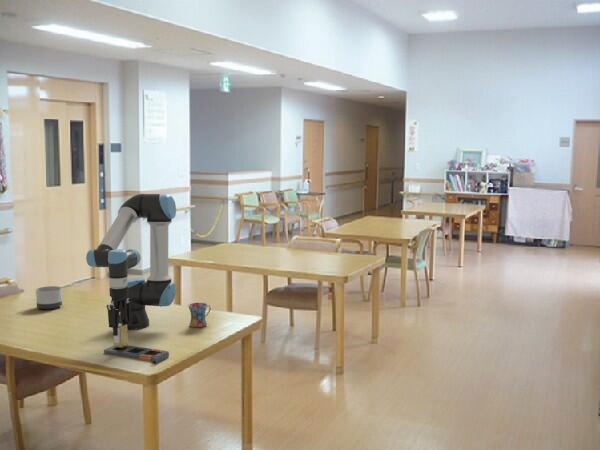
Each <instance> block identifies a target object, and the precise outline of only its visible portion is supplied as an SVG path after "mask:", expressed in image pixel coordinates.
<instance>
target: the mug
mask: <svg viewBox="0 0 600 450" xmlns="http://www.w3.org/2000/svg"><path fill="white" fill-rule="evenodd" d="M187 307H188V309H189V311H190V322H189V324H188V325H189V326H190V327H192V328H202V327H206V326H207V324H208V323H207V321H206V317H207V316H208V315H209V313H210V312H211V310H212V307H211V306H210V305H208V303H206V302H192V303H189V304H187ZM207 307H208V308H209V309H208V312H207V313H206V310H207Z"/></svg>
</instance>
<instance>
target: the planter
mask: <svg viewBox="0 0 600 450" xmlns="http://www.w3.org/2000/svg"><path fill="white" fill-rule="evenodd" d="M62 295H63V294H62V287H61V286H56V285H55V286H54V285H53V286H51V285H50V286H41V287H38V288H36V289H35V297H36V298H35V300H36V301H35V302H36V307H37V308H38V309H41V310H45V309H49V310H54V309H53V308H55V309H57V307H58V308H59V307H61V306H62V305H63V297H62Z"/></svg>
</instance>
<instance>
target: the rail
mask: <svg viewBox="0 0 600 450" xmlns="http://www.w3.org/2000/svg"><path fill="white" fill-rule="evenodd" d="M103 354H105V355H112V356H116V357H117V356H119V357H124V358H129V359H130V358H131V359H136V360H139V361H140V360H141V361H147V362H151V364H153V365H157V364H159V363H160V362H163V361H165V360H166V359H168V358H169V357H170V356H169V354H170V353H169V350H168V351H167V350H164V349H163V350H162V349H157V348H147V347H141V346H135V345H129V344H128V345H126V346H124V347H122V348H120V347H114V345H112V346H110V347H107V348H105V349H103Z"/></svg>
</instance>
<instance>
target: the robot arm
mask: <svg viewBox="0 0 600 450" xmlns="http://www.w3.org/2000/svg"><path fill="white" fill-rule="evenodd" d="M176 215H177V206H176V201H175V199H174V198H173V196H172V195H170V194H166V193H137V194H135V195H133V196H131V197H130V198H128V199H127V200H126V201H124V203H122V205H121V206H120V208H119V209H118V210H117V216H116V218H115V219H114V221H113V223H112V224H111V225H110V227H109V229H108V231H107V232H106V234H105V235H104V237H103V238H102V240H101V242H100V243H99V245H98V246H97V247H96V248H95V249H94V248H93V249H90V250H88V251H87V253H86V256H85V260H86V261H85V262H86V263H87V265H88V266H89V267H94V268H108V286H109V290H108V291H109V297H110V298H111V301H110V303H109V304H107V305H106V309H107V317H108V318H107V319H108V327H109V328H112V335H113V343H114V342H115V343H120V328H119V327H118V325H119V323H121V324H127V331H129V330H139V329H144V328H147V327H149V326H150V319H149V316H148V314H147V310H146V306H149V307H150V306H151V307H169V306H171V305H172V303H174V300H175V297H176V294H177V293H176V292H177V286H176V284H175V282H174V281H173V282H172V277H171V276H170V275H169V225H170V224H171V223H172V220H173V219H174V218H175V217H176ZM138 219H146V223H147V224H148V225H149V276H147V278H146V280H145V278H144V277H133V278H128V270H129V269H132V268H134V267H136V266H137V265H139V263H140V262H141V259H142V258H141V254H140V252H139V251H138V250H137V249H132V248H130V249H119V247H120V245H121V244H122V241H123V240H124V238H125V236H126V235H127V233H128V232H129V230H130V228H131V227H132V225H133V224H134V223H136V221H138Z"/></svg>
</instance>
